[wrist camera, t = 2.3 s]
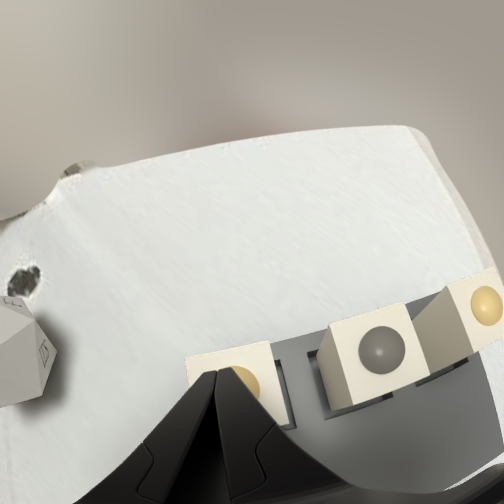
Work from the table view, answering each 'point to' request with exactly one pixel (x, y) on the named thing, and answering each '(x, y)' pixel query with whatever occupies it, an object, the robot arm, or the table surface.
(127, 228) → the table surface
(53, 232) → the table surface
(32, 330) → the die
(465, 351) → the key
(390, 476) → the console
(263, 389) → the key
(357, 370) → the middle key
